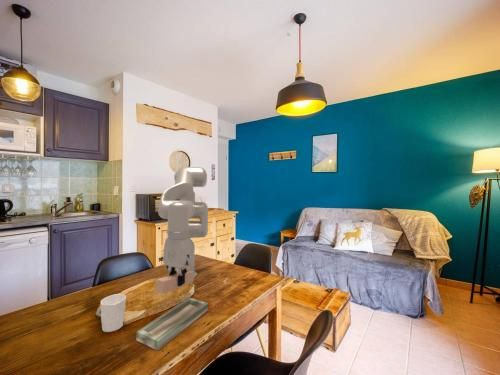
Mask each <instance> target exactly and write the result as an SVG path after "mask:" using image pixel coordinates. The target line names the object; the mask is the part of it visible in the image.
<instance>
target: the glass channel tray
mask: <svg viewBox="0 0 500 375" xmlns="http://www.w3.org/2000/svg"><path fill="white" fill-rule="evenodd" d="M208 310H209V303H208V302H205V301H202V300H199V299H196V298H193V297H188V298H186V299H184V300H182V302H180V303H178V304H177V305H175V306H173V307H172V308H171V309H169V310H167V311H166V312H164V313H163V314H161V315H160V316H158V317H157V318H155V319H154V320H152V321H151V322H149V323H147V324H146V325H144V326H143V327H141V328H140V329H139V330H137V331H136V334H135V335H136V338H135V340H136V341H137V342H138V343H141V344H143V345H145V346H147V347H149V348H151V349H153V350H155V351H157V352H158V351H159V350H161V349H162V348H163V347H165V345H167V344H168V343H169V342H171V340H173V339H174V338H175V337H177V336H178V335H179V334H180V333H182V332H183V331H184V330H186V329H187V328H188V327H189V326H190V325H191V324H193V323H194V322H195V321H197V319H199V318H200V317H201V316H202V315H204V314H205V313H207V311H208Z"/></svg>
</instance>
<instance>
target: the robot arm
mask: <svg viewBox="0 0 500 375" xmlns="http://www.w3.org/2000/svg"><path fill="white" fill-rule="evenodd" d="M173 179H174V184H173V185H171V186H169V187H168V188H167V189H166V190H164V191H163V192H162V194H161V196H160V199H159V202H158V209H157V213H158V216H159V217H160V218H161V219H165V220H167V230H166V234H167V236H166V238H165V241H164V245H163V246H164V247H163V253H162V263H163V265H164V266H165V267H166V269H167V273H169V274H168V276H170V275H173V274H177V273H179V275H178V286H181V285H183V284H185V274H186V273H187V271H188V270H190V271H194V279H195V278H196V277H197V276H198V273H197V271H195V251H196V247H195V246H196V245H195V242H194V241H193V240H192V239H193V238H194V239H196V238H197V239H199V238H205V237H207V236H208V229H209V208H208V204H207V203H206V202H203V201H196V192H195V191H194V188H205V186H206V185H207V183H208V174H207V170H206V169H205V168H204V167H196V166H183V167H180V168H179V169H178V170H177V172H175V173H174V178H173ZM190 219H195V220H190ZM196 219H197V220H196Z"/></svg>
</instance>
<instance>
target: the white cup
mask: <svg viewBox="0 0 500 375" xmlns="http://www.w3.org/2000/svg"><path fill="white" fill-rule="evenodd" d="M126 299H127V296H126V295H125V294H122V293H117V294H116V293H115V294H111V295H109V296H106V297H104V298H102V299H101V300H100V305H101V316H100V322H101V330H102V331H103V332H104V333H111V332H115V331H117V330H119V329H121V328H122V327H123V326H124V324H123V319H124V320H125V314H126V313H125V312H126V302H127V301H126Z"/></svg>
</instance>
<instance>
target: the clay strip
mask: <svg viewBox="0 0 500 375" xmlns="http://www.w3.org/2000/svg"><path fill="white" fill-rule="evenodd" d="M194 271H195V270H194ZM194 271H190V270H188V271H187V273H186V274H185V284H183V285H181V286H178V275H179V273H177V274H173V275H170V276H169V275H166V276H164V277H160V278H157V279H156V280H155V291H154V292H156V293H159V294H161V295H162V294H167V293H168V292H169V293H170V292H172V291H174V290H176V289H179V288H181V287H185V286H186V285H189V284H191V283H194V282H195V278H194Z"/></svg>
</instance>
